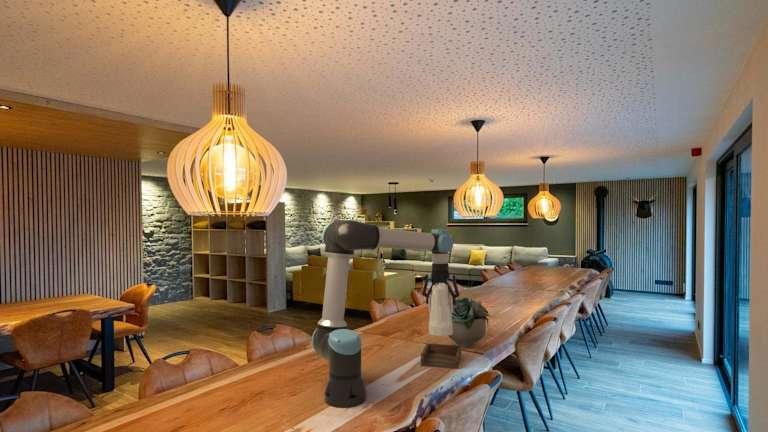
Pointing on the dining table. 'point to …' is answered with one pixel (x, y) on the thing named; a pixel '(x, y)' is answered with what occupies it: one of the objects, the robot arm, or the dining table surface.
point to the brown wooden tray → (441, 356)
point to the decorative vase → (440, 311)
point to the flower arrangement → (468, 322)
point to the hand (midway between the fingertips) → (440, 311)
